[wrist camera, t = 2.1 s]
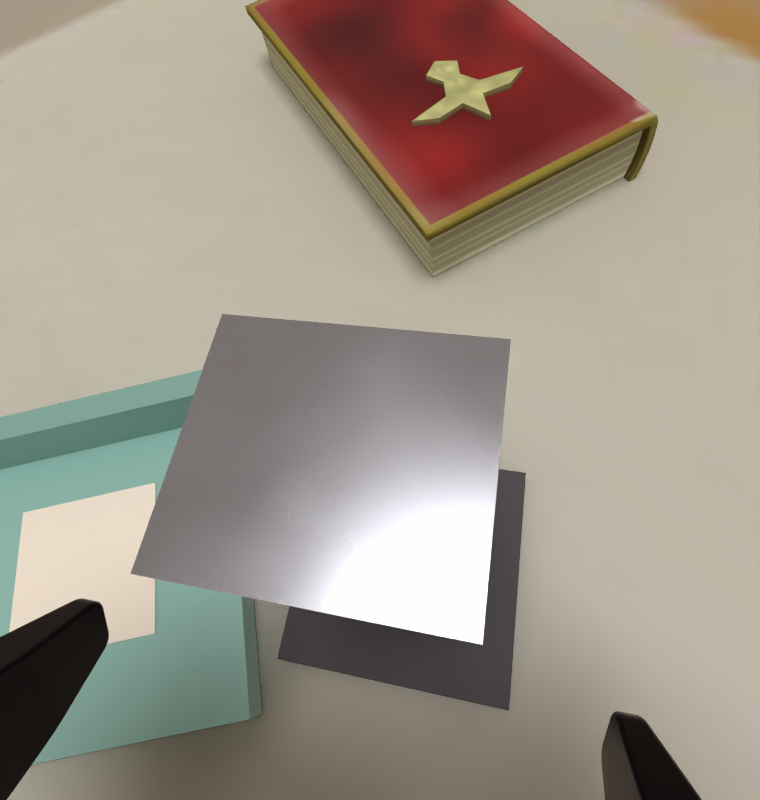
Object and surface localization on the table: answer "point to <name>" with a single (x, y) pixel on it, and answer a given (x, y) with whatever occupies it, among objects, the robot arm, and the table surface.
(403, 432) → the grey tower block
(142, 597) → the teal base plate
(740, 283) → the table surface
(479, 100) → the hardcover book
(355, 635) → the mat
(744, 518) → the table surface
